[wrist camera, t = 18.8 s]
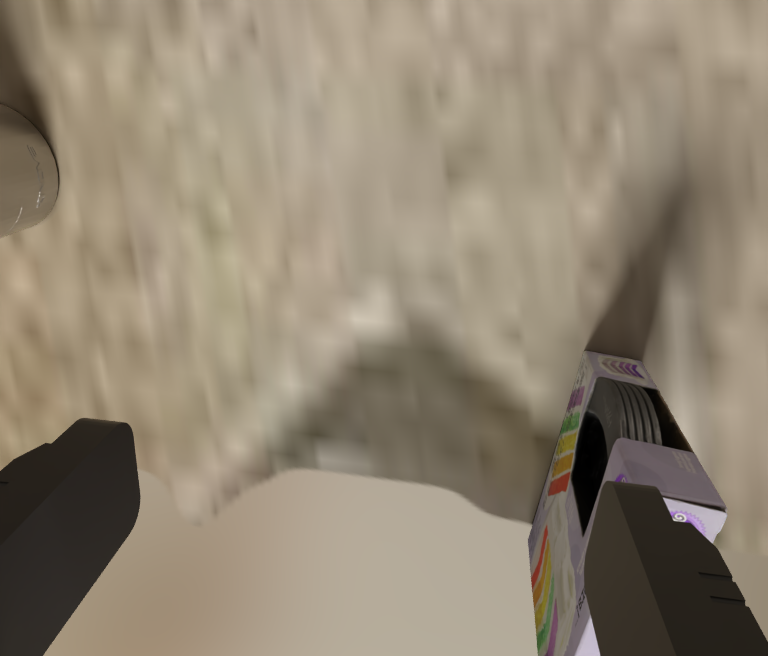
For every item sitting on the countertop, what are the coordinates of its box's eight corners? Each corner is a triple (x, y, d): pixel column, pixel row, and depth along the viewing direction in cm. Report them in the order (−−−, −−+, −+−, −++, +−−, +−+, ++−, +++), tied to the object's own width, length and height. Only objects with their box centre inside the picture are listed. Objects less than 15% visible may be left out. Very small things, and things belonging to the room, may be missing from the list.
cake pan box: (581, 332, 44) (646, 483, 28) (651, 345, 44) (757, 505, 28) (519, 536, 52) (541, 747, 36) (578, 548, 52) (628, 766, 36)
